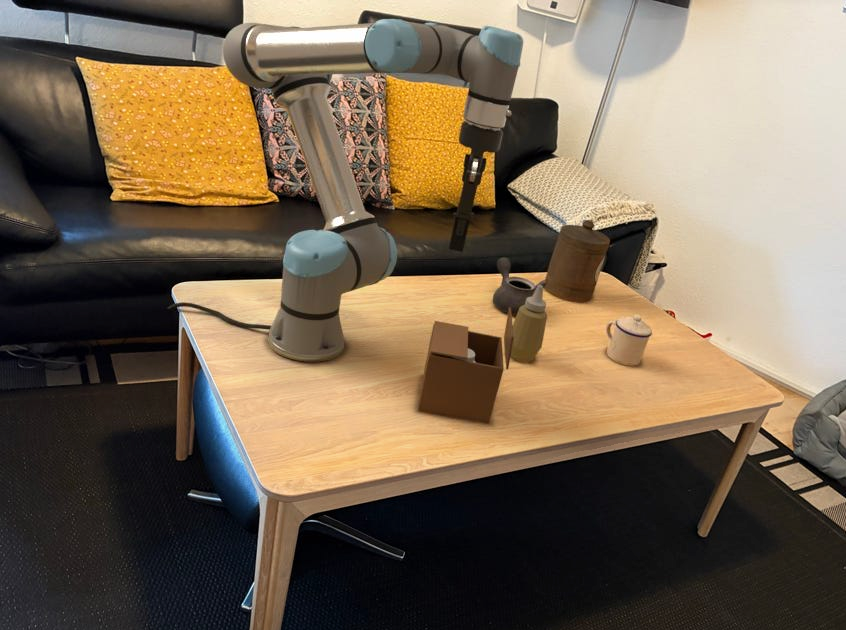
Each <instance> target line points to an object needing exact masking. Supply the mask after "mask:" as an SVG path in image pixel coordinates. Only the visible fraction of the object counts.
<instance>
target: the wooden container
mask: <svg viewBox="0 0 846 630" xmlns="http://www.w3.org/2000/svg"><path fill="white" fill-rule="evenodd" d="M610 243H611V239H610V238H609V237H608V236H607V235H606V234H604V233H603V232H601V231H598V230H597V229H595V223H594V222H593V221H592V220H589V219H587V220H584V221H583V222H582V225H577V224H564V225H562V226H561V227H560V230H559V233H558V236H557V240H556V243H555V245H554V249H553V252H552V255H551V258H550V262H549V266H548V268H547V272H546V276H545V279H544V280H545V281H546V283H547V284H546V285H545V286H544V289H545V290H546V291H547V292H548V293H550V294H551V295H553V296H555V297H557V298H560V299H562V300H565V301H569V302H574V303H586V302H589V301H591V300H592V298H593V296H594V293H595V290H596V287H597V285H598V281H599V278H600V274H601V271H602V268H603V265H604V262H605V258H606V255H607V252H608V249H609V247H610Z"/></svg>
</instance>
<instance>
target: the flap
mask: <svg viewBox="0 0 846 630" xmlns="http://www.w3.org/2000/svg"><path fill="white" fill-rule="evenodd" d="M433 325H434V329H433V328H432V329H433V336H432V344H431V351H430V353H434V354H440V355H445V356H451V357H457V358H463V359H467V355H468V331H469V326H467V325H461V324H455V323H451V322H450V323H449V322H445V321H438V320H434V322H433Z"/></svg>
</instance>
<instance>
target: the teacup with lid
mask: <svg viewBox="0 0 846 630" xmlns="http://www.w3.org/2000/svg"><path fill="white" fill-rule="evenodd" d="M612 325H614V326H615V327H614V329H613V331H612V333H611V327H612ZM605 334H606V336H607V338H608V340H610V341H609V343H608V346H607V350H606V354H607V356H608V357H609V358H610V359H611V360H612V361H614V362H616V363H618V364H621V365H624V366H629V367H630V366H631V367H632V366H633V367H634V366H638V365H639V364H640V363H641V361H642V358H643V355H644V353H645V350H646V347H647V345H648V342H649V340H650V337H651V336H652V335H653V330H652V328H651V326H650V325H649V324H647V323H646V322H645V321H644V320H643V319H642V316H641V315H639V314H634V315H633V316H622V317H619V318H618V319H616V320H611V321H609V322H607V324H606V327H605Z"/></svg>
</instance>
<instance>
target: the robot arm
mask: <svg viewBox="0 0 846 630" xmlns="http://www.w3.org/2000/svg"><path fill="white" fill-rule="evenodd" d="M523 47H524V39H523V36H522V35H520V33H517V32H514V31H511V30H507V29H503V28H499V27H496V26H491V25H484V26H482V27H481V29H480V32H479V34H478V35H476V34H472V33H468V32H465V31H463V30H460V29H456V28H453V27H451V26H448V25H445V24H440V23H435V22H425V23H418V22H413V21H407V20H403V19H401V18H382V19H379V20H376V21H375V22H369V23H354V24H339V25H327V26H326V25H325V26H312V27H310V26H309V27H301V26H293V25H292V26H283V25H275V24H268V23H259V22H245V23H240V24H238V25H236V26H235V27H233V28H232V29H231V30H229V32H228V33H227V34H226V36H225V39H224V41H223V45H222V56H223V61H224V63H225V66H226V68H227V70H228V72H229V73H230V74H231V75H232V77H234V78H235V79H236V80H237V81H238V82H239V83H241V84H243V85H245V86H247V87H251V88H256V89H262V90H263V89H265V90H266V89H267V90H268V89H269V90H271V93H272V95H273V99H274V101H275V104H276V105H277V106H278V107H280V108H282V109H284V110H285V111H286V112H287V113H286V114H287V116H288V119H289V121H290V125H291V126H292V130H293V132H294V136H295V138H296V141H297V144H298V147H299V150H300V153H301V156H302V159H303V161H304V164H305V167H306V170H307V172H308V176H309V178H310V181H311V184H312V186H313V189H314V192H315V195H316V198H317V201H318V203H319V206H320V209H321V212H322V215H323V218H324V220H325V225H324V227H323V229H319V230H315V229H308V230H302V231H299V232H297V233H294V234H293V235H292V236H291V237H290V238H289V239H288V240H287V242H286V245H285V251H284V255H283V259H282V264H283V265H282V279H281V281H282V282H281V294H280V307H279V309H278V311H277V312H276V313H277V314H276V315H275V317H274V320H273V321H272V324H271V325H269V324H258V323H257V324H255V323H246V322H242V321H238V320H236V319H233V318H230V317H229V316H226V315H224V314H223V313H222V312H220V311H217V310H215V309H212V308H209V307H205V306H203V305H201V304H196V303H193V302H186V301H184V302H182V301H181V302H176V303H173V304H171V305H169V306H168V307H167V310H172V311H173V310H174V309H177V308H182V307H185V308H192V309H196V310H198V311H199V310H200V311H202V312H205V313H209V314H212V315H214V316H217V317H219V318H221V319H222V320H224V321H225V322H228V323H230V324H233V325H235V326H238V327H242V328H245V329H246V328H247V329H256V330H257V329H258V330H259V329H261V330H269V331H268V338H267V341H268V345H269V347H270V349H272V351H274V352H275V353H276V354H277V355H280V356H282V357H283V358H286V359H289V360H294V361H298V362H304V363H318V362H319V363H320V362H324V361H330V360H332V359H334V358H337V357H338V356H339V355H341V353H343V350H344V347H345V346H344V345H345V335H344V332H343V327H342V326H343V325H342V322H341V318H340V307H341V299H342V296H343V295H344V294H346V293H349V292H352V291H356V290H358V289H361V288H365V287H368V286H373V285H377V283H378V284H379V283H380V282H381V281H384V280H385V279H387V278H388V277H390V276H391V274H392V273H393V272H394V269H395V267H396V265H397V260H398V250H397V244H396V242H395V239H394V237H393V236H392V234H391V233H390V232H388V231H387V230H386V229H385V228H383V227H380V226H378V225H379V224H378V222H377V220H376V217H375V215H373V214H371V213H370V212H368V211H366V209H365V206H364V204H363V201H362V198H361V194H360V192H359V189H358V186H357V183H356V180H355V177H354V174H353V172H352V171H353V170H352V169H351V166H350V162H349V160H348V156H347V154H346V151H345V148H344V145H343V142H342V139H341V136H340V134H339V133H340V132H339V130H338V126H337V125H336V121H335V118H334V115H333V113H332V109H331V107H330V103H329V101H328V96H329V95H330V93H331V90H332V87H331V85H330V82H331V81H332V78H333V75H354V74H355V75H356V74H357V75H361V74H422V75H423V74H424V75H440V76H441V75H442V76H446V77H451V78H453V79H457V80H460V81H463V82H466V83H469V84H468V92H467V95H466V99H465V104H464V110H463V114H462V117H463V119H464V121H462V122H461V124H460V129H459V135H458V142H459V144H460V145H462V146H464V147H465V148H469V149H470V153H465V155H464V160H463V171H462V177H461V181H462V186H461V187H462V188H461V192H460V197H459V202H458V203H457V207H458V208H456V212H452V218H454V222H453V227H452V232H451V237H450V241H449V246H448V250H451V251H455V252H461V253H463V252H464V248H465V244H466V243H465V242H466V239H467V235H468V231H469V225H470V221H471V219H472V218H474V216H475V212H472V211H473V207H474V202H475V198H476V194H477V189H478V186H480V185H481V182H482V178H483V173H484V172H485V170H486V167H487V160H488V159H487V158H486V157H484V155H485V153H491V154H492V153H497V152H499V151H500V149H501V144H502V140H503V136H504V132H503V130H502V129H504V128H505V125H506V121H507V117H511V116H512V111H511V110H510V109H509V108H510V104H511V100H512V97H513V96H512V95H513V91H514V88H515V83H516V79H517V75H518V72H519V68H520V67H521V60H522V59H521V58H522V53H523Z"/></svg>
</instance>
